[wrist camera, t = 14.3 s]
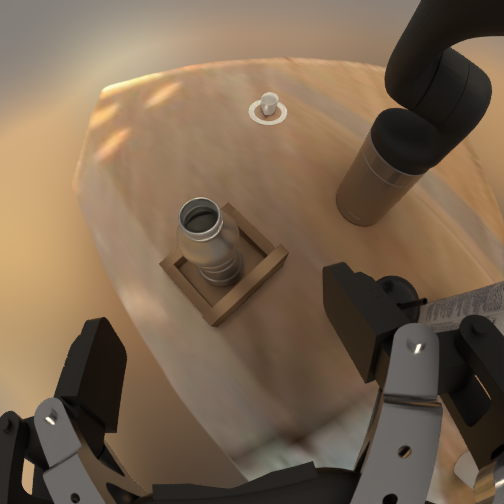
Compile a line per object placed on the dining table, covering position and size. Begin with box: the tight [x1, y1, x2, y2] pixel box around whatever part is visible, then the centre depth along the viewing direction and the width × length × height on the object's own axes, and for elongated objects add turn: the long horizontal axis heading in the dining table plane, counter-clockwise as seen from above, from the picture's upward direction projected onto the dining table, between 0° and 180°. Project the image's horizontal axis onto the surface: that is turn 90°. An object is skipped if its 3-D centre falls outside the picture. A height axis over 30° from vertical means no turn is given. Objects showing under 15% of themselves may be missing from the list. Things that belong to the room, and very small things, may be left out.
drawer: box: [159, 202, 289, 327], centre depth 40 cm, size 14×12×7 cm
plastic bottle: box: [177, 197, 244, 286], centre depth 33 cm, size 6×7×20 cm
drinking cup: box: [376, 276, 427, 323], centre depth 32 cm, size 8×8×20 cm
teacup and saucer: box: [249, 92, 287, 125], centre depth 51 cm, size 9×8×4 cm
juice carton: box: [418, 281, 504, 336], centre depth 27 cm, size 9×10×27 cm
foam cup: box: [454, 451, 479, 489], centre depth 25 cm, size 10×9×13 cm
